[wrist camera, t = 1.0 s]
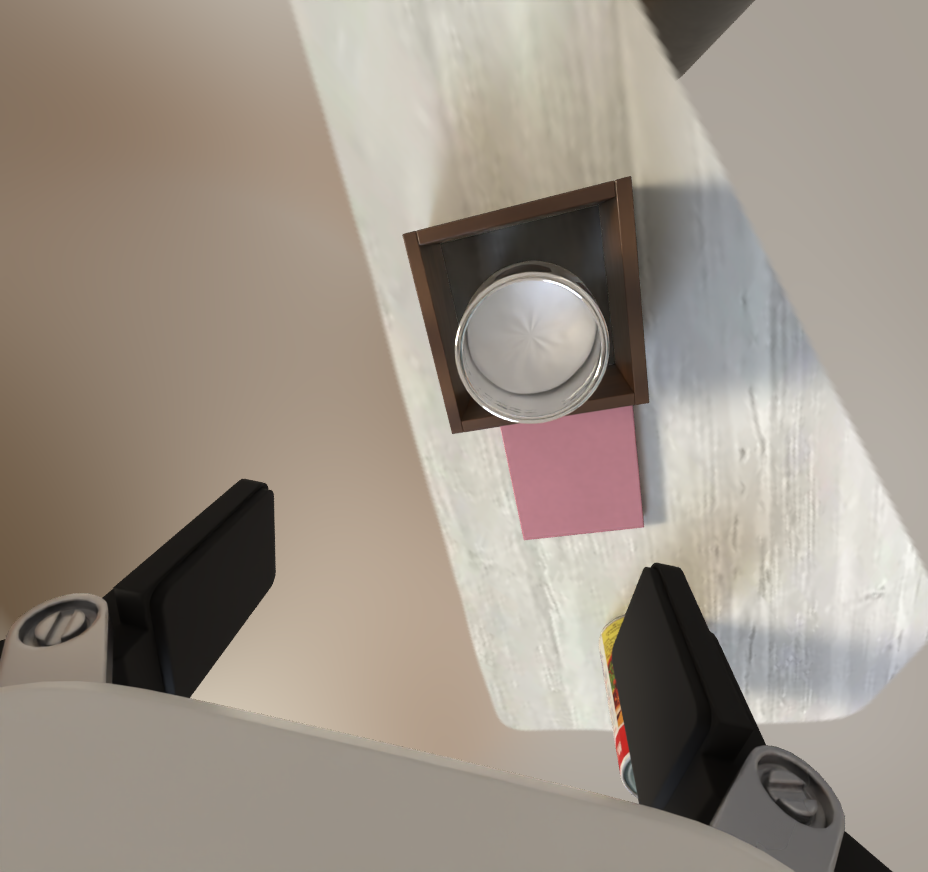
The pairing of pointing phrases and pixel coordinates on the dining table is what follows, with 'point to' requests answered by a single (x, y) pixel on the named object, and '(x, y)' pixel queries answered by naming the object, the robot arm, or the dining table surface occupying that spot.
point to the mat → (575, 474)
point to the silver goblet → (532, 343)
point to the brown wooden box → (622, 275)
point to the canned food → (616, 704)
